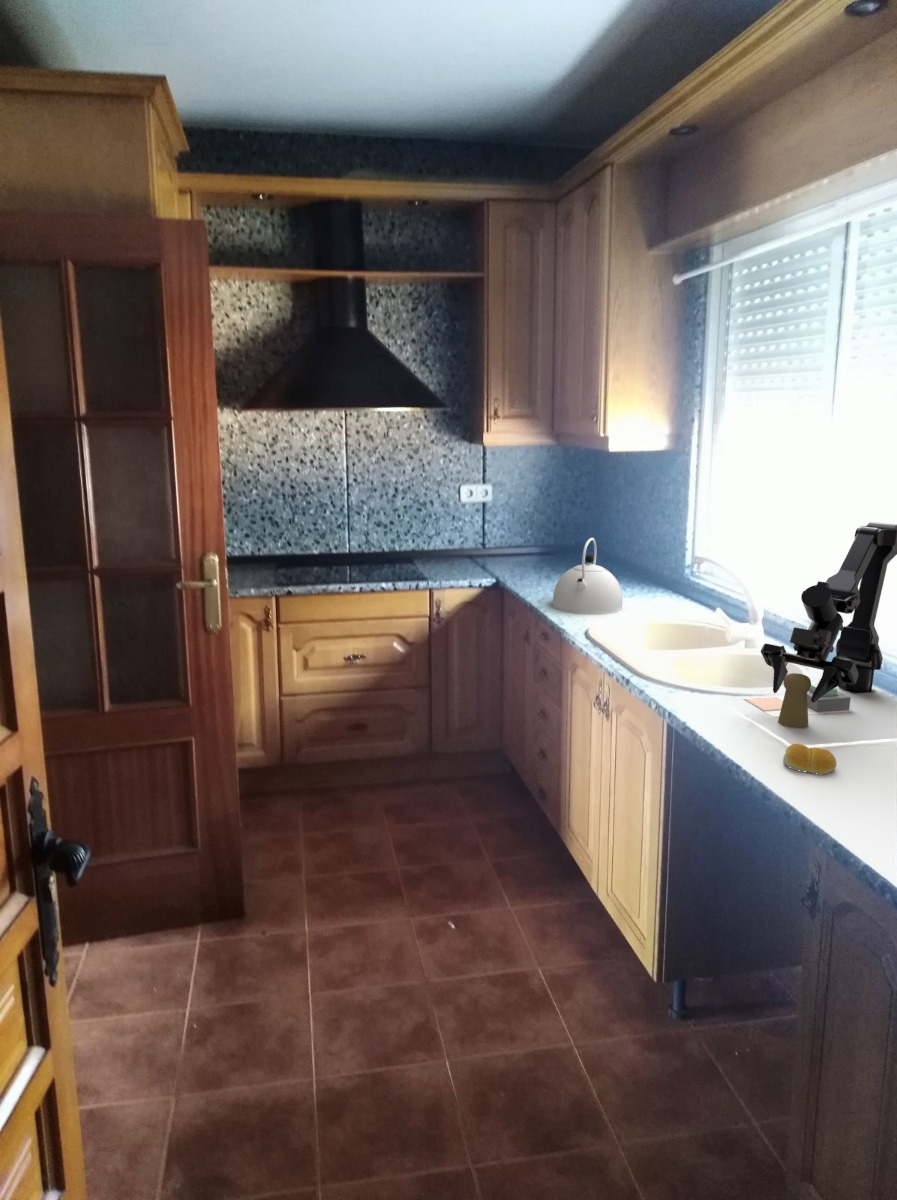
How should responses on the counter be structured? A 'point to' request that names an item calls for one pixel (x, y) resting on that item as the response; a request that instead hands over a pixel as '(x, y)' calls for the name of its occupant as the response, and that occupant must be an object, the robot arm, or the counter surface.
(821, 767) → the bread roll
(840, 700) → the picture board
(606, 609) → the kettle
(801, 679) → the cork
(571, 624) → the counter surface
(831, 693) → the button
